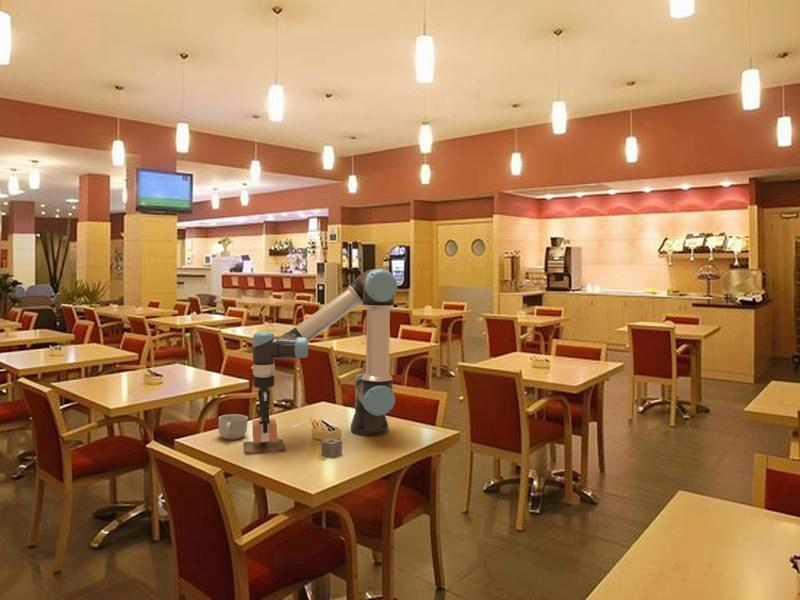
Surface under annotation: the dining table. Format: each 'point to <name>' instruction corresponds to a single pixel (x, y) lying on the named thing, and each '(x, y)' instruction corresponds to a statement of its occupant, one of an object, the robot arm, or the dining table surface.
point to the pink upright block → (257, 430)
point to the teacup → (232, 426)
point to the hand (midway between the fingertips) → (264, 437)
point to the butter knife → (298, 424)
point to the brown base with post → (264, 447)
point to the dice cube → (331, 448)
